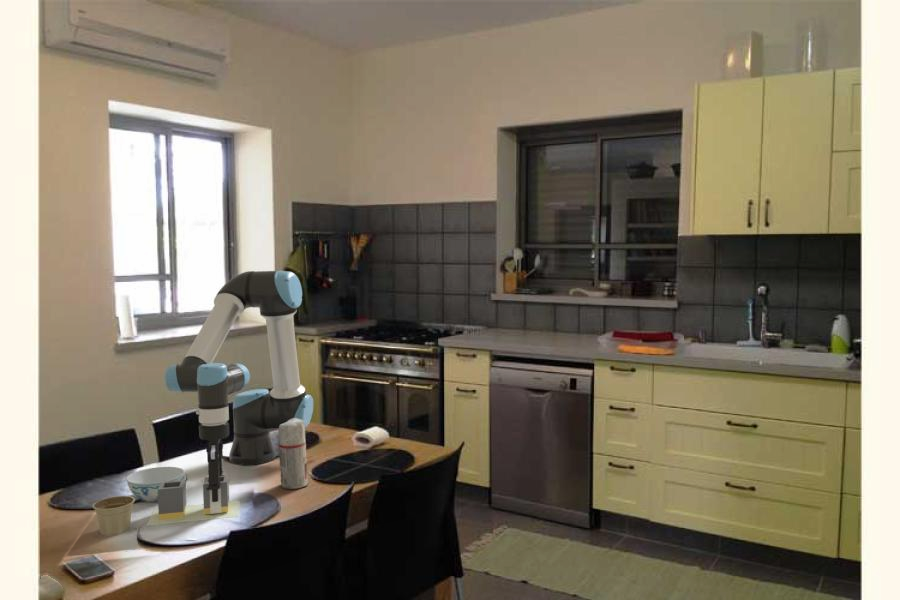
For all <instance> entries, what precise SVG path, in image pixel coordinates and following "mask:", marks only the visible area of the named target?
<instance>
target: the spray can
mask: <svg viewBox="0 0 900 600" xmlns="http://www.w3.org/2000/svg"><path fill="white" fill-rule="evenodd" d="M277 437H278V441H277V443H278V455H279V456H278V457H279V472H280V484H281V488H282V489H286V490H297V489H302V488H304V487H306V486H308V485H309V481H308V463H307V462H308V461H307V443H306V428H305V423H304V421H303V420H300V419H298V418H292V419H290V420H288V421H287V422H285V423H284V424H280V426H279V429H278V436H277Z"/></svg>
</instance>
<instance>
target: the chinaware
mask: <svg viewBox="0 0 900 600" xmlns="http://www.w3.org/2000/svg"><path fill="white" fill-rule="evenodd" d="M184 477H185V470H184V469H183V468H181V467H177V466H175V467H174V466H159V467H158V466H157V467H156V466H155V467H150V468H145V469H142V470H138V471H135V472H132V473H131V474H129V475H128V476H126V482H127V486H128V488H129V491H130V492H131V493H132V494H133V496H134V497H135V498H136V499H138V500H140V501H142V502H147V503H149V502H150V503H151V502H152V503H154V502H158V488H159V486H160V484H161V482H168V481H180V480H184Z"/></svg>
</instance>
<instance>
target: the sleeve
mask: <svg viewBox="0 0 900 600" xmlns="http://www.w3.org/2000/svg"><path fill="white" fill-rule="evenodd" d="M224 475H225V476H220V487H221V513H223V512H228V510H229V504H230V503H229V501H230V480H229V479H230V477H229V474H227V475H226V474H224ZM208 486H209V476H205V477H204V480H203V483H202V494H203V495H202V496H203V497H202V499H203V504H204V514H210V490H207V488H208Z"/></svg>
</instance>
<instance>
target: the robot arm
mask: <svg viewBox="0 0 900 600" xmlns="http://www.w3.org/2000/svg"><path fill="white" fill-rule="evenodd" d="M227 281H228V282H226V283H225V284H224V285H223V286H222V287H220V289H219V290H218V292H217V293H216V295H215V296H214V299H213V304H214V306H213V307H212V309H211V311H210V313H209V314H208V316H207V317H206V320H205V321H204V323H203V325H202V326H201V328H200V330H199V332H198V333H197V336H196V337H195V339H194V340H193V342H192V344H191V346H190V347H189V349H188V351H187V352H186V354H185V356H184V358H183V359H182V361H181V362H180V364H178V363H177V364H172V365H170V366H168V367H167V369H166V370H165V373H164V384H165V386H166V388H167V389H168V390H169V391H171V392H177V393H197V401H198V402H197V403H198V410H196V412H195V414H196V415H198V423H199V425H198V434H199V435H198V436H199V438H200V439H201V440H202V441H208V443H206V444H207V445H206V450H205V451H206V453H207V455H206V457H207V463H208V465H207V471H208V473H207V474H208V477H209V486H208V488H207V490H210V514H214V513H221V487H220V476H225V475H226V474H223V473H224V471H223V449H224V442H223V439H226V438H228V437H229V435H230V423H229V422H228V421H229V420H230V413H229V410H230V409H229V407H230V406H229V395H232V394H234V393H236V392H240V391H242V389H245V388H246V387H247V386H248V385H249V383H250V379H251V374H250V370H249V369H248V368H247V367H246V366H245V365H244V364H242V363H230V364H228V365H226V364H225V363H221V362H214V360H215V358H216V357H217V355H218V353H219V351H220V349H221V347H222V345H223V344H224V341H225V340H226V338H227V336H228V334H229V332H230V331H231V329H232V328H233V325H234V323H235V321H236V319H237V317H239V316H241V315H243V313H244V311H245V310H246V309H249V308H259V313H260V315H259V316H261V317H262V318H263V319H265V323H266V324H265V325H266V333H267V340H268V350H269V357H270V365H271V373H272V374H271V375H272V376H271V377H272V383H273V388H272V389H271V390H270V392H269V389H268V388H259V389H257V388H256V389H252V390H246V391H243V392H240V393H237V394H235V396H234V397H233V402H232V411H233V412H232V413H233V414H232V415H233V435H234V436H233V440H232V445H231V447H230V448H231V449H230V451H229V462H230V463H231V464H234V465H240V466H248V465H249V466H250V465H259V464H265V463H269V462H271V461H273V460H275V458H276V457H277V456H276V455H277V454H276V453H277V451H276V447H275V445H274V442H273V440H272V437H271V435H270V434H271V430H279V426H280V424H284V423H285V422H287V421H288V420H290V419H292V418H298V419H300V420H303V421H304V423H305V429H306V428H307V427H308V426H309V424H310V422H311V419H312V416H313V413H314V412H313V411H314V398H313V396H312V395H310V394H307V392H306V387H305V386H304V385H303V384H301V381H300V379H301V378H300V371H299V362H298V361H299V360H298V353H297V352H298V351H297V343H296V342H297V341H296V334H295V333H296V332H295V323H294V315H295V314H297V311H298V308H299V307H300V306H301V304H302V301H303V298H302V297H303V289H302V284H301V281H300V280H299V278H298V276H297V275H296V274H295V273H294V272H292V271H285V270H265V271H264V270H262V271H261V270H260V271H258V270H257V271H253V270H248V271H245V272H241V273H239V274H237V275H236V276H234V277H232V278H231V279H229V280H227Z"/></svg>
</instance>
